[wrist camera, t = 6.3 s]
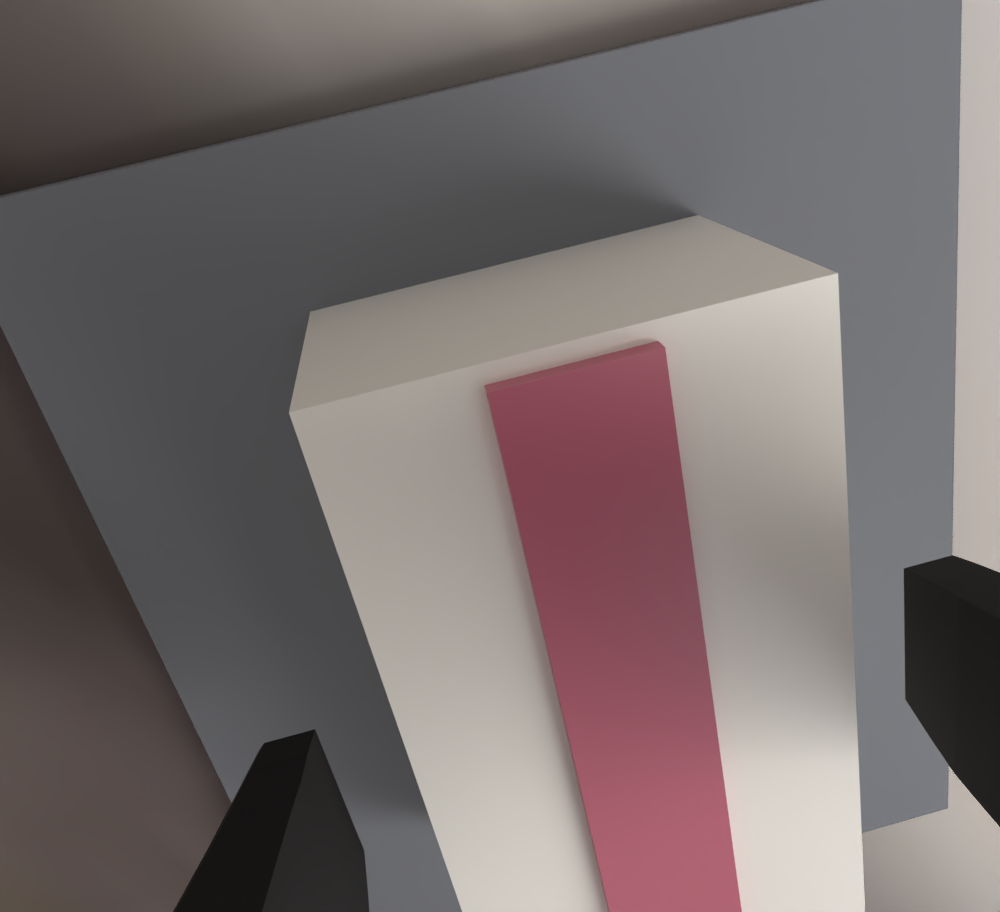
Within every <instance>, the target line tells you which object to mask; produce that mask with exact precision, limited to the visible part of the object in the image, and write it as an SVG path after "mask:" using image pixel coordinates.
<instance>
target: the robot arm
mask: <svg viewBox="0 0 1000 912" xmlns="http://www.w3.org/2000/svg"><path fill="white" fill-rule="evenodd" d="M904 636H905V700H906V701H907V703H908V704H909V706H910V707H911V709H912V710H913V712H914V714H915V715H916V717H917V718H918V720H919V721H920V723H921V724H922V726H923V727H924V729H925V731H926V732H927V734H928V735H929V737H930V738H931V740H932V741H933V743H934V744H935V746H936V747H937V749H938V750H939V751H940V753H941V754H942V756H943V757H944V759H945V760H946V762H947V763H948V764H949V766H950V767H951V769H952V770H953V772H954V773H955V774H956V776H957V777H958V778H959V779H960V780H961V782H962V783H963V784H964V785H965V786H966V788H967V789H968V790H969V791H970V792H971V794H972V795H973V796H974V797H975V798H976V799H977V801H978V802H979V803H980V804H981V805H982V806H983V808H984V809H985V810H986V811H987V812H988V814H989V815H990V816H991V817H992V818H993V819H994V821H995V822H996V823H997V824H998V825H999V826H1000V573H999V572H997V571H994V570H991V569H989V568H986V567H984V566H981V565H978V564H976V563H973V562H970V561H967V560H964V559H962V558H959V557H956V556H953V555H951V556H947V557H944V558H940V559H936V560H933V561H929V562H925V563H922V564H918V565H914V566H911V567H907V568H904ZM173 912H369V899H368V887H367V875H366V864H365V852H364V849H363V846H362V844H361V841H360V839H359V836H358V834H357V831H356V829H355V827H354V824H353V822H352V819H351V817H350V814H349V812H348V809H347V807H346V804H345V802H344V799H343V797H342V794H341V792H340V789H339V787H338V785H337V782H336V780H335V777H334V775H333V772H332V770H331V767H330V765H329V762H328V760H327V757H326V755H325V752H324V750H323V747H322V745H321V743H320V740H319V738H318V735H317V733H316V730H315V729H314V730H310V731H306V732H303V733H299V734H295V735H292V736H288V737H284V738H281V739H277V740H273V741H270V742H266V743H264V744H263V745H262V747H261V748H260V750H259V751H258V753H257V755H256V757H255V759H254V761H253V763H252V764H251V766H250V768H249V770H248V772H247V774H246V776H245V778H244V780H243V782H242V784H241V786H240V788H239V790H238V792H237V794H236V796H235V798H234V800H233V802H232V804H231V805H230V807H229V809H228V811H227V813H226V815H225V817H224V819H223V821H222V823H221V825H220V827H219V829H218V830H217V832H216V834H215V836H214V838H213V840H212V842H211V844H210V846H209V848H208V849H207V851H206V853H205V855H204V857H203V859H202V860H201V862H200V864H199V866H198V868H197V869H196V871H195V873H194V875H193V877H192V879H191V880H190V882H189V884H188V886H187V888H186V889H185V891H184V893H183V895H182V897H181V898H180V900H179V902H178V904H177V906H176V907H175V909H174V911H173Z"/></svg>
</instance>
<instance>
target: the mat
mask: <svg viewBox="0 0 1000 912" xmlns="http://www.w3.org/2000/svg"><path fill="white" fill-rule="evenodd" d="M961 10H962V0H813V1H809V2H804V3H800V4H796V5H792V6H788V7H784V8H779V9H775V10H771V11H767V12H763V13H759V14H754V15H750V16H746V17H742V18H738V19H734V20H729V21H725V22H721V23H717V24H713V25H709V26H704V27H700V28H696V29H692V30H688V31H684V32H679V33H675V34H671V35H667V36H663V37H659V38H655V39H650V40H646V41H642V42H638V43H634V44H630V45H625V46H621V47H617V48H613V49H609V50H605V51H600V52H596V53H592V54H588V55H584V56H580V57H575V58H571V59H567V60H563V61H559V62H555V63H550V64H546V65H542V66H538V67H534V68H530V69H526V70H521V71H517V72H513V73H509V74H505V75H501V76H496V77H492V78H488V79H484V80H480V81H476V82H471V83H467V84H463V85H459V86H455V87H451V88H446V89H442V90H438V91H434V92H430V93H426V94H421V95H417V96H413V97H409V98H405V99H401V100H396V101H392V102H388V103H384V104H380V105H376V106H372V107H367V108H363V109H359V110H355V111H351V112H347V113H342V114H338V115H334V116H330V117H326V118H322V119H317V120H313V121H309V122H305V123H301V124H297V125H292V126H288V127H284V128H280V129H276V130H272V131H267V132H263V133H259V134H255V135H251V136H247V137H242V138H238V139H234V140H230V141H226V142H222V143H218V144H213V145H209V146H205V147H201V148H197V149H193V150H188V151H184V152H180V153H176V154H172V155H168V156H163V157H159V158H155V159H151V160H147V161H143V162H138V163H134V164H130V165H126V166H122V167H118V168H113V169H109V170H105V171H101V172H97V173H93V174H88V175H84V176H80V177H76V178H72V179H68V180H64V181H59V182H55V183H51V184H47V185H43V186H39V187H34V188H30V189H26V190H22V191H18V192H14V193H9V194H5V195H1V196H0V326H1V329H2V331H3V333H4V335H5V337H6V339H7V341H8V343H9V345H10V347H11V349H12V351H13V353H14V355H15V357H16V359H17V362H18V364H19V366H20V368H21V370H22V372H23V374H24V376H25V378H26V380H27V382H28V384H29V386H30V388H31V390H32V392H33V395H34V397H35V399H36V401H37V403H38V405H39V407H40V409H41V411H42V413H43V415H44V417H45V419H46V421H47V423H48V426H49V428H50V430H51V432H52V434H53V436H54V438H55V440H56V442H57V444H58V446H59V448H60V450H61V452H62V454H63V456H64V459H65V461H66V463H67V465H68V467H69V469H70V471H71V473H72V475H73V477H74V479H75V481H76V483H77V485H78V487H79V490H80V492H81V494H82V496H83V498H84V500H85V502H86V504H87V506H88V508H89V510H90V512H91V514H92V516H93V518H94V520H95V523H96V525H97V527H98V529H99V531H100V533H101V535H102V537H103V539H104V541H105V543H106V545H107V547H108V549H109V551H110V554H111V556H112V558H113V560H114V562H115V564H116V566H117V568H118V570H119V572H120V574H121V576H122V578H123V580H124V582H125V584H126V587H127V589H128V591H129V593H130V595H131V597H132V599H133V601H134V603H135V605H136V607H137V609H138V611H139V613H140V615H141V618H142V620H143V622H144V624H145V626H146V628H147V630H148V632H149V634H150V636H151V638H152V640H153V642H154V644H155V646H156V648H157V651H158V653H159V655H160V657H161V659H162V661H163V663H164V665H165V667H166V669H167V671H168V673H169V675H170V677H171V679H172V682H173V684H174V686H175V688H176V690H177V692H178V694H179V696H180V698H181V700H182V702H183V704H184V706H185V708H186V710H187V712H188V715H189V717H190V719H191V721H192V723H193V725H194V727H195V729H196V731H197V733H198V735H199V737H200V739H201V741H202V743H203V745H204V748H205V750H206V752H207V754H208V756H209V758H210V760H211V762H212V764H213V766H214V768H215V770H216V772H217V774H218V776H219V779H220V781H221V783H222V785H223V787H224V789H225V791H226V793H227V795H228V797H229V799H230V801H231V803H232V802H233V800H234V798H235V796H236V794H237V792H238V790H239V788H240V786H241V784H242V782H243V780H244V778H245V776H246V774H247V772H248V770H249V768H250V766H251V764H252V763H253V761H254V759H255V757H256V755H257V753H258V751H259V750H260V748H261V747H262V745H263V744H264V743H266V742H270V741H273V740H277V739H281V738H284V737H288V736H292V735H295V734H299V733H303V732H306V731H310V730H314V729H315V730H316V733H317V735H318V738H319V740H320V743H321V745H322V747H323V750H324V752H325V755H326V757H327V760H328V762H329V765H330V767H331V770H332V772H333V775H334V777H335V780H336V782H337V785H338V787H339V789H340V792H341V794H342V797H343V799H344V802H345V804H346V807H347V809H348V812H349V814H350V817H351V819H352V822H353V824H354V827H355V829H356V831H357V834H358V836H359V839H360V841H361V844H362V846H363V849H364V852H365V864H366V875H367V887H368V899H369V912H462V910H461V907H460V904H459V901H458V898H457V895H456V892H455V890H454V887H453V884H452V881H451V878H450V875H449V872H448V869H447V867H446V864H445V861H444V858H443V855H442V852H441V849H440V846H439V844H438V841H437V838H436V835H435V832H434V829H433V826H432V823H431V820H430V818H429V815H428V812H427V809H426V806H425V803H424V800H423V797H422V795H421V792H420V789H419V786H418V783H417V780H416V777H415V774H414V772H413V769H412V766H411V763H410V760H409V757H408V754H407V751H406V749H405V746H404V743H403V740H402V737H401V734H400V731H399V728H398V725H397V723H396V720H395V717H394V714H393V711H392V708H391V705H390V702H389V700H388V697H387V694H386V691H385V688H384V685H383V682H382V679H381V677H380V674H379V671H378V668H377V665H376V662H375V659H374V656H373V653H372V651H371V648H370V645H369V642H368V639H367V636H366V633H365V630H364V628H363V625H362V622H361V619H360V616H359V613H358V610H357V607H356V605H355V602H354V599H353V596H352V593H351V590H350V587H349V584H348V582H347V579H346V576H345V573H344V570H343V567H342V564H341V561H340V558H339V556H338V553H337V550H336V547H335V544H334V541H333V538H332V535H331V533H330V530H329V527H328V524H327V521H326V518H325V515H324V512H323V510H322V507H321V504H320V501H319V498H318V495H317V492H316V489H315V487H314V484H313V481H312V478H311V475H310V472H309V469H308V466H307V463H306V461H305V458H304V455H303V452H302V449H301V446H300V443H299V440H298V438H297V435H296V432H295V429H294V426H293V423H292V420H291V417H290V415H289V410H290V405H291V400H292V396H293V391H294V386H295V381H296V377H297V372H298V367H299V363H300V358H301V353H302V348H303V344H304V339H305V334H306V330H307V325H308V320H309V315H310V312H311V311H315V310H319V309H323V308H327V307H331V306H335V305H339V304H343V303H347V302H351V301H355V300H359V299H363V298H367V297H371V296H375V295H379V294H383V293H387V292H391V291H395V290H399V289H403V288H407V287H411V286H415V285H419V284H423V283H427V282H431V281H435V280H439V279H443V278H447V277H451V276H455V275H459V274H463V273H467V272H471V271H475V270H479V269H483V268H487V267H491V266H495V265H499V264H503V263H507V262H511V261H515V260H519V259H523V258H527V257H531V256H535V255H539V254H543V253H547V252H551V251H556V250H560V249H564V248H568V247H572V246H576V245H580V244H584V243H588V242H592V241H596V240H600V239H604V238H608V237H612V236H616V235H620V234H624V233H628V232H632V231H636V230H640V229H644V228H648V227H652V226H656V225H660V224H664V223H668V222H672V221H676V220H680V219H684V218H688V217H692V216H696V215H700V216H702V217H704V218H707V219H709V220H712V221H714V222H716V223H719V224H721V225H724V226H726V227H728V228H731V229H733V230H736V231H738V232H741V233H743V234H745V235H748V236H750V237H753V238H755V239H757V240H760V241H762V242H765V243H767V244H769V245H772V246H774V247H777V248H779V249H781V250H784V251H786V252H789V253H791V254H793V255H796V256H798V257H801V258H803V259H806V260H808V261H810V262H813V263H815V264H818V265H820V266H822V267H825V268H827V269H830V270H832V271H834V272H837V273H838V283H839V307H840V331H841V354H842V378H843V402H844V425H845V449H846V473H847V496H848V520H849V544H850V567H851V591H852V615H853V638H854V662H855V686H856V709H857V733H858V757H859V780H860V804H861V828H862V833H863V832H867V831H870V830H874V829H877V828H881V827H884V826H887V825H891V824H894V823H898V822H901V821H905V820H908V819H912V818H915V817H919V816H922V815H926V814H929V813H933V812H936V811H940V810H943V809H947V808H948V765H949V764H948V763H947V762H946V760H945V759H944V757H943V756H942V754H941V753H940V751H939V750H938V749H937V747H936V746H935V744H934V743H933V741H932V740H931V738H930V737H929V735H928V734H927V732H926V731H925V729H924V727H923V726H922V724H921V723H920V721H919V720H918V718H917V717H916V715H915V714H914V712H913V710H912V709H911V707H910V706H909V704H908V703H907V701H906V700H905V636H904V568H907V567H911V566H914V565H918V564H922V563H925V562H929V561H933V560H936V559H940V558H944V557H947V556H951V555H952V533H953V475H954V417H955V358H956V300H957V242H958V184H959V126H960V68H961Z"/></svg>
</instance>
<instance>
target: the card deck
mask: <svg viewBox="0 0 1000 912" xmlns="http://www.w3.org/2000/svg"><path fill="white" fill-rule="evenodd" d="M289 415H290V417H291V420H292V423H293V426H294V429H295V432H296V435H297V438H298V440H299V443H300V446H301V449H302V452H303V455H304V458H305V461H306V463H307V466H308V469H309V472H310V475H311V478H312V481H313V484H314V487H315V489H316V492H317V495H318V498H319V501H320V504H321V507H322V510H323V512H324V515H325V518H326V521H327V524H328V527H329V530H330V533H331V535H332V538H333V541H334V544H335V547H336V550H337V553H338V556H339V558H340V561H341V564H342V567H343V570H344V573H345V576H346V579H347V582H348V584H349V587H350V590H351V593H352V596H353V599H354V602H355V605H356V607H357V610H358V613H359V616H360V619H361V622H362V625H363V628H364V630H365V633H366V636H367V639H368V642H369V645H370V648H371V651H372V653H373V656H374V659H375V662H376V665H377V668H378V671H379V674H380V677H381V679H382V682H383V685H384V688H385V691H386V694H387V697H388V700H389V702H390V705H391V708H392V711H393V714H394V717H395V720H396V723H397V725H398V728H399V731H400V734H401V737H402V740H403V743H404V746H405V749H406V751H407V754H408V757H409V760H410V763H411V766H412V769H413V772H414V774H415V777H416V780H417V783H418V786H419V789H420V792H421V795H422V797H423V800H424V803H425V806H426V809H427V812H428V815H429V818H430V820H431V823H432V826H433V829H434V832H435V835H436V838H437V841H438V844H439V846H440V849H441V852H442V855H443V858H444V861H445V864H446V867H447V869H448V872H449V875H450V878H451V881H452V884H453V887H454V890H455V892H456V895H457V898H458V901H459V904H460V907H461V910H462V912H865V899H864V875H863V851H862V828H861V804H860V780H859V757H858V733H857V709H856V686H855V662H854V638H853V615H852V591H851V567H850V544H849V520H848V496H847V473H846V449H845V425H844V402H843V378H842V354H841V331H840V307H839V283H838V273H837V272H834V271H832V270H830V269H827V268H825V267H822V266H820V265H818V264H815V263H813V262H810V261H808V260H806V259H803V258H801V257H798V256H796V255H793V254H791V253H789V252H786V251H784V250H781V249H779V248H777V247H774V246H772V245H769V244H767V243H765V242H762V241H760V240H757V239H755V238H753V237H750V236H748V235H745V234H743V233H741V232H738V231H736V230H733V229H731V228H728V227H726V226H724V225H721V224H719V223H716V222H714V221H712V220H709V219H707V218H704V217H702V216H700V215H696V216H692V217H688V218H684V219H680V220H676V221H672V222H668V223H664V224H660V225H656V226H652V227H648V228H644V229H640V230H636V231H632V232H628V233H624V234H620V235H616V236H612V237H608V238H604V239H600V240H596V241H592V242H588V243H584V244H580V245H576V246H572V247H568V248H564V249H560V250H556V251H551V252H547V253H543V254H539V255H535V256H531V257H527V258H523V259H519V260H515V261H511V262H507V263H503V264H499V265H495V266H491V267H487V268H483V269H479V270H475V271H471V272H467V273H463V274H459V275H455V276H451V277H447V278H443V279H439V280H435V281H431V282H427V283H423V284H419V285H415V286H411V287H407V288H403V289H399V290H395V291H391V292H387V293H383V294H379V295H375V296H371V297H367V298H363V299H359V300H355V301H351V302H347V303H343V304H339V305H335V306H331V307H327V308H323V309H319V310H315V311H311V312H310V315H309V320H308V325H307V330H306V334H305V339H304V344H303V348H302V353H301V358H300V363H299V367H298V372H297V377H296V381H295V386H294V391H293V396H292V400H291V405H290V410H289Z"/></svg>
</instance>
